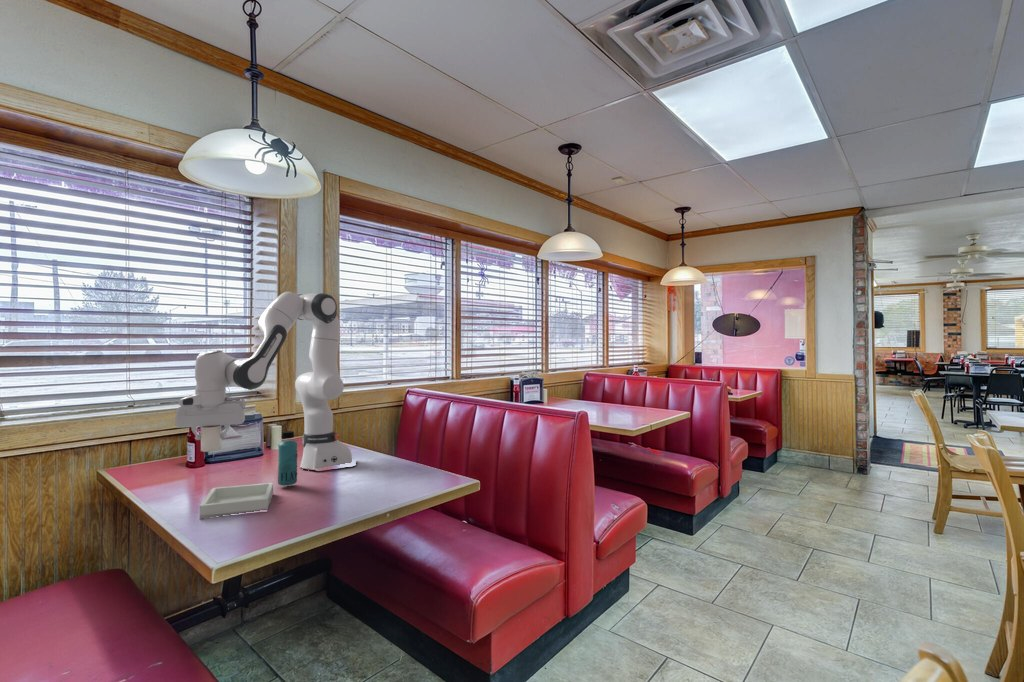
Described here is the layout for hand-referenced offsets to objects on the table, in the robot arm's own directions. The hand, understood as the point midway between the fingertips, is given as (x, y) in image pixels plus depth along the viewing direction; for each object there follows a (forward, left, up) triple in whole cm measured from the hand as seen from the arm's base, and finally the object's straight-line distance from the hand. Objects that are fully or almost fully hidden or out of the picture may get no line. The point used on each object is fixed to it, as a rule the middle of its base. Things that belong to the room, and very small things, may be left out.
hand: (211, 438), depth 167 cm
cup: (0, 0, -4) cm, 4 cm away
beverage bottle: (-24, 0, -19) cm, 31 cm away
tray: (-11, +16, -19) cm, 27 cm away
